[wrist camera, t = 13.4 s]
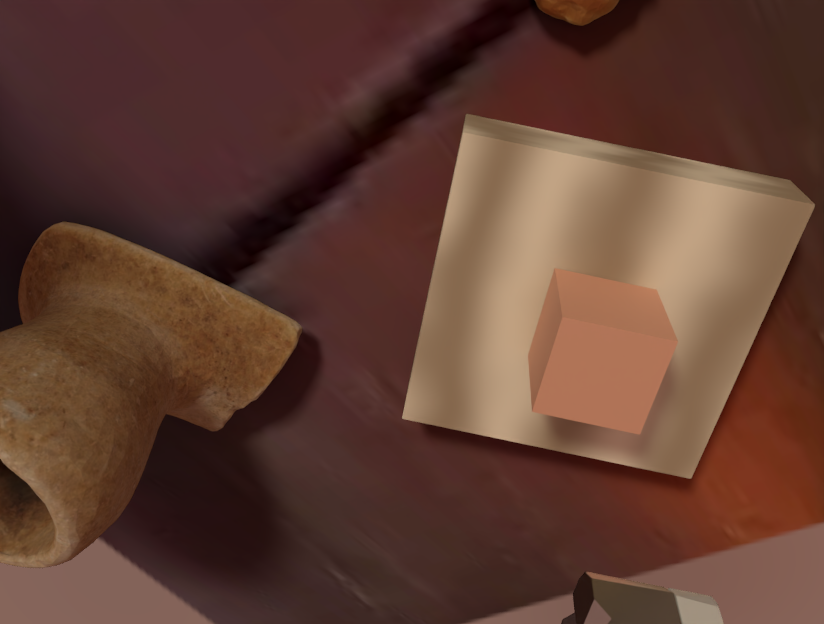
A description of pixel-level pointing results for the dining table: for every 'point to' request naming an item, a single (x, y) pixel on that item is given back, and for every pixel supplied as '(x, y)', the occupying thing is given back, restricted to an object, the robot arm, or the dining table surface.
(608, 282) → the terracotta block
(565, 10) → the pastry
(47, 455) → the cork boot vase
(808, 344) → the dining table surface
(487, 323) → the birch base
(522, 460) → the dining table surface
